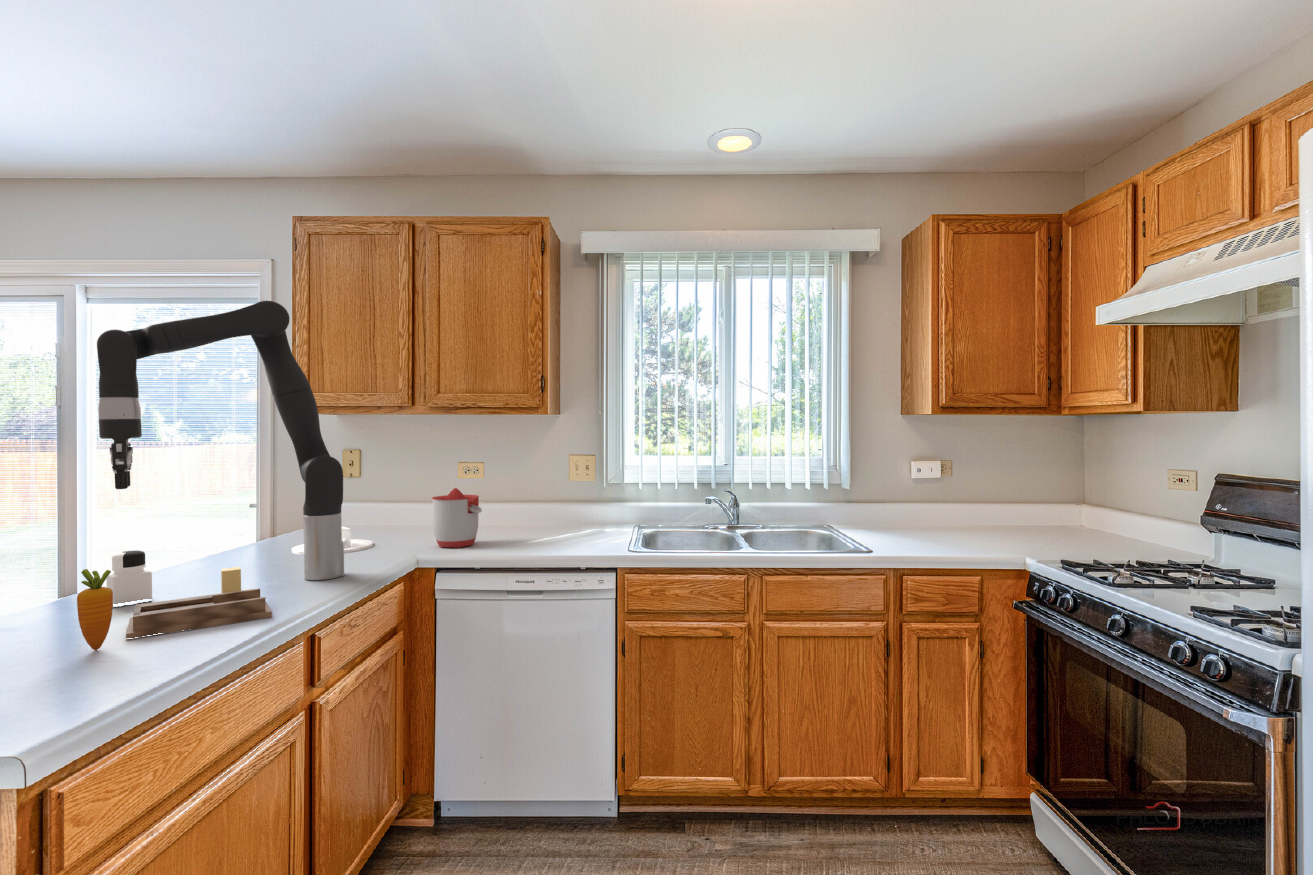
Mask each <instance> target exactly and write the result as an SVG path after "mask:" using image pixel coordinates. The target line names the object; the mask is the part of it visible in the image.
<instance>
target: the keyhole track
mask: <svg viewBox="0 0 1313 875" xmlns="http://www.w3.org/2000/svg"><path fill="white" fill-rule="evenodd" d="M269 618H273V612H272V610H271V608H270V606H269V604H268V602H267V600H266V597H265V596H262V597H261V588H259V587H258V588H252V589H251V588H250V589H245V590H244V589H242V590H241V591H235V592H228V593H222V592H221V593H215V594H207V595H206V594H205V595H200V596H192V597H191V596H190V597H183V598H176V599H171V600H170V599H168V600H162V601H154V602H153V601H152V602H147V603H141V604H136V605H134V610H133V615H132V617H129V621H128V624H127V628H126V632H125V639H126V638H135V637H142V636H147V635H153V634H158V633H169V634H172V633H171V632H176V631H182V630H188V631H190V630H189V629H195V630H200V629H199V628H201V629H206V627H207V628H213V627H212V626H214V627H219V625H220V626H226V625H233V624H237V623H245V622H250V621H251V622H252V621H257V620H263V619H269ZM182 632H183V631H182ZM176 633H177V632H176Z"/></svg>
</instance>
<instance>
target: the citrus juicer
mask: <svg viewBox="0 0 1313 875" xmlns="http://www.w3.org/2000/svg"><path fill="white" fill-rule="evenodd" d="M431 499H432V526H433V532H434V536H435V541H436V543H437V545H438V547H440V548H455V549H461V548H462V547H469V546H472V545H474V543H475V542H476V538H477V534H478V529H479V513H480V514H481V513H482V507H481V506H479V505H480V503H479V495H477V494H463V493H462V491H461V490H460V489H458V488H457V487H455V488H452V490H450V492H449V493H448V494H447V495H446V494H445V495H437V496H432V497H431Z"/></svg>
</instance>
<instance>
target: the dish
mask: <svg viewBox="0 0 1313 875" xmlns="http://www.w3.org/2000/svg"><path fill="white" fill-rule="evenodd" d="M351 530H352V528H349V527H347V526H344V525H342V541H343V542H344V554H345V553H346V554H347V553H353V552H354V553H355V552H359V551H364V550H367V549H370V548H372V547H373V546H374V542H373V541H372V540H369V539H368V540H367V539H361V538H360V539H358V538H356V539H354V538H352V531H351ZM291 552H292V554H294V555H297V556H302V555H303V556H304V543H303V544H299V545H295V546H293V547H291Z"/></svg>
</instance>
